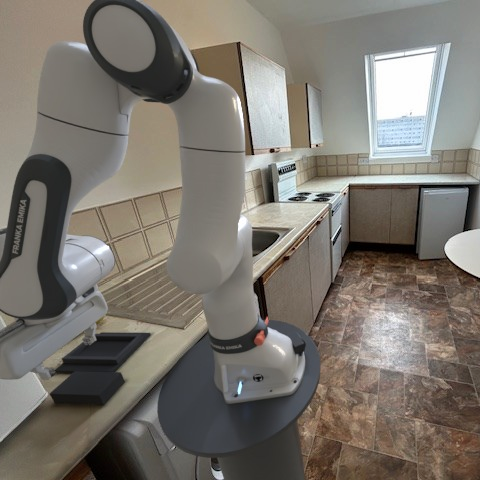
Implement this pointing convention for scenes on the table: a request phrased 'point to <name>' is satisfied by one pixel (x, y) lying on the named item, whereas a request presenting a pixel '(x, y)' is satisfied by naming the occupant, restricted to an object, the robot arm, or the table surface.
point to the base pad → (102, 353)
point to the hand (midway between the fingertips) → (71, 358)
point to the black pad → (87, 388)
